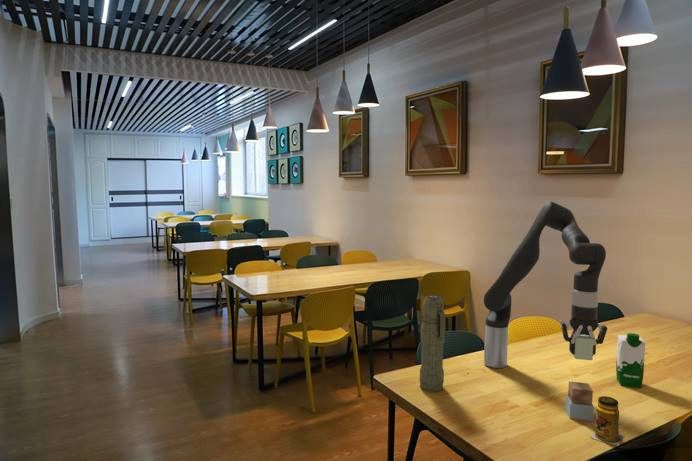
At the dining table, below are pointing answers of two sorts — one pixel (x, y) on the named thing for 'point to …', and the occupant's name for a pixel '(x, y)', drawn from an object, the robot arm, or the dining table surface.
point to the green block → (583, 347)
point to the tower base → (579, 410)
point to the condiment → (607, 421)
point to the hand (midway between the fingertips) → (582, 354)
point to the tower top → (580, 393)
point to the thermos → (432, 344)
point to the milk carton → (630, 360)
